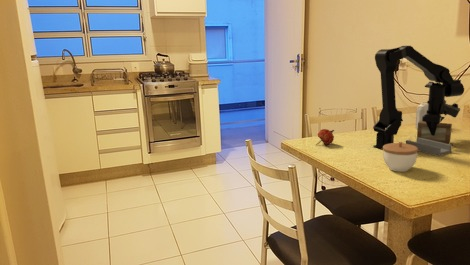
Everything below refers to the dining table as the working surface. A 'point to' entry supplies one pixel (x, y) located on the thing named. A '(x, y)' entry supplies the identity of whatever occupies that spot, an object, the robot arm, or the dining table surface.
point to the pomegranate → (326, 136)
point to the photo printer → (421, 112)
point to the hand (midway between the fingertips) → (433, 134)
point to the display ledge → (431, 146)
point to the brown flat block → (440, 135)
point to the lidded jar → (400, 156)
